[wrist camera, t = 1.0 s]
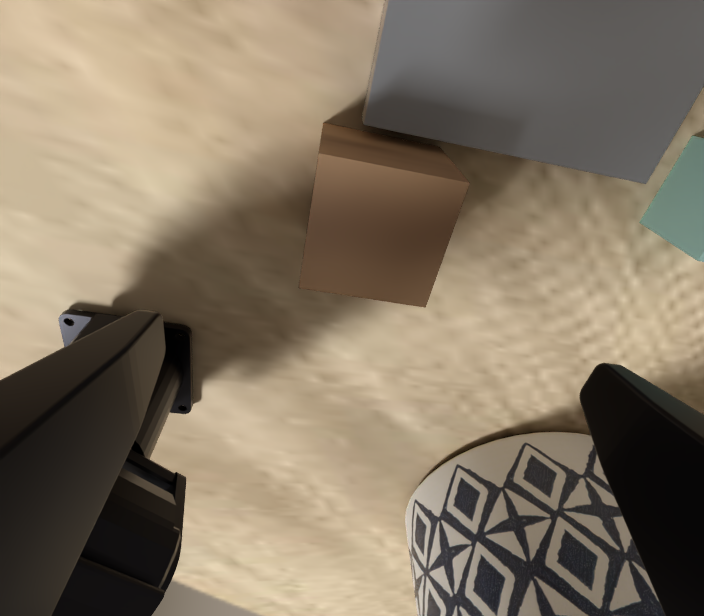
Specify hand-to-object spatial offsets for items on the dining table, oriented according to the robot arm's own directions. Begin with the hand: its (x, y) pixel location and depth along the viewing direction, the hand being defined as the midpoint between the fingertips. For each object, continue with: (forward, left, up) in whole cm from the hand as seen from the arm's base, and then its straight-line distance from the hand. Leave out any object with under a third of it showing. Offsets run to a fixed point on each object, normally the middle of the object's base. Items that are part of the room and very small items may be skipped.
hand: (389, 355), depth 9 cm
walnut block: (-1, -1, -12) cm, 12 cm away
